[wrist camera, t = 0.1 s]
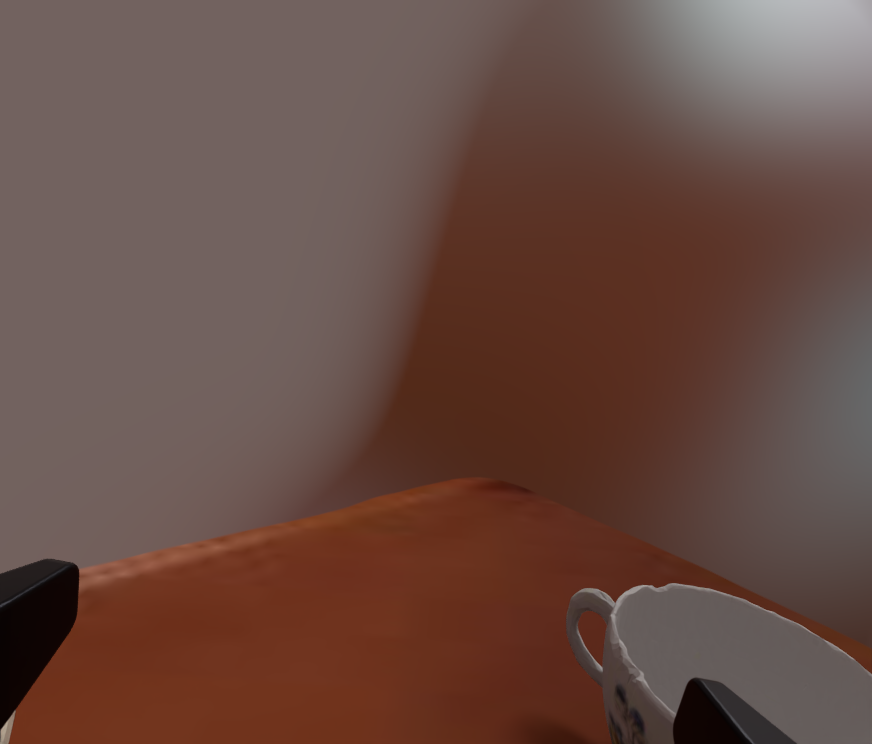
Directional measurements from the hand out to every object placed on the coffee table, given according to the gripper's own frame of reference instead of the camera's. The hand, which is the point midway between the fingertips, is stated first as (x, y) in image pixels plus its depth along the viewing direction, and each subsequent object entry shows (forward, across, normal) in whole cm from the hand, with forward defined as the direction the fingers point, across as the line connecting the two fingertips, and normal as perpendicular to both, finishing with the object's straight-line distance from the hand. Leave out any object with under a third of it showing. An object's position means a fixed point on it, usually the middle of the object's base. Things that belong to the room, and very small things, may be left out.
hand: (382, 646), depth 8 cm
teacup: (+14, -15, +17) cm, 26 cm away
